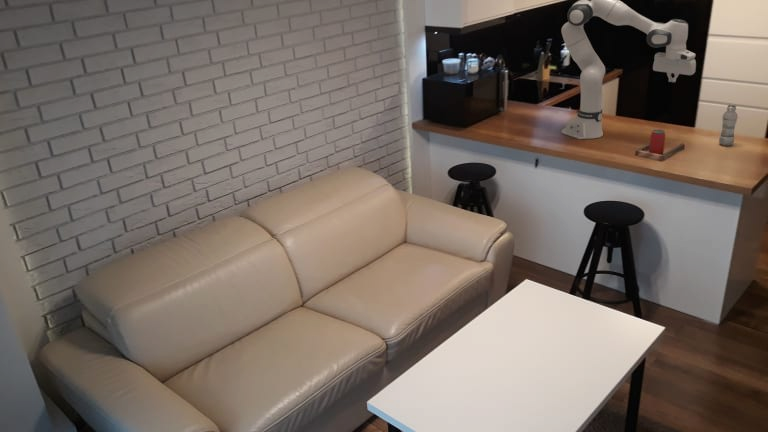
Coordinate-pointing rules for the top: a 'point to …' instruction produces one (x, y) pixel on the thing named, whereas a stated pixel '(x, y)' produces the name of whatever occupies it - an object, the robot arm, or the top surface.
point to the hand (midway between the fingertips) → (672, 81)
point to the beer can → (657, 142)
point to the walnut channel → (658, 157)
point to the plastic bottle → (728, 126)
